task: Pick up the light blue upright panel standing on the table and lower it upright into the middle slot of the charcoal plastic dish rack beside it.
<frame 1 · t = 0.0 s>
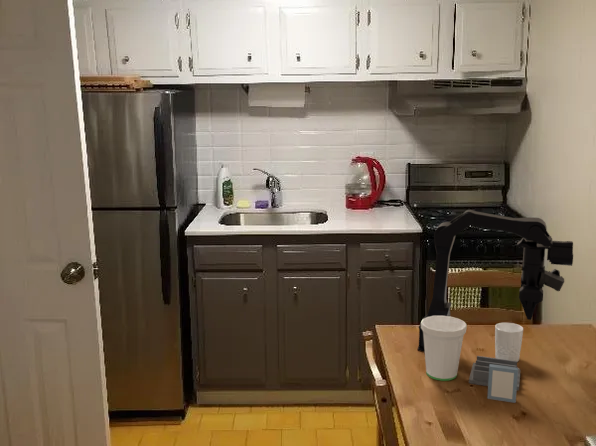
hand: (529, 314, 187), 15 cm above the table, tool pointing down, fingers open, 9 cm apart
rack: (494, 377, 180), on the table
light blue upright panel: (501, 399, 168), on the table
cup: (441, 374, 182), on the table
white cup: (507, 359, 192), on the table
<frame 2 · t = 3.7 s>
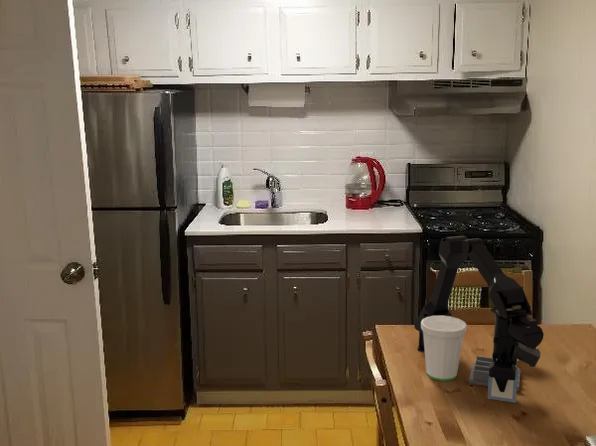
hand: (502, 390, 167), 3 cm above the table, tool pointing down, fingers closed on light blue upright panel, 2 cm apart
light blue upright panel: (501, 399, 168), on the table, touching gripper
everything else where it was.
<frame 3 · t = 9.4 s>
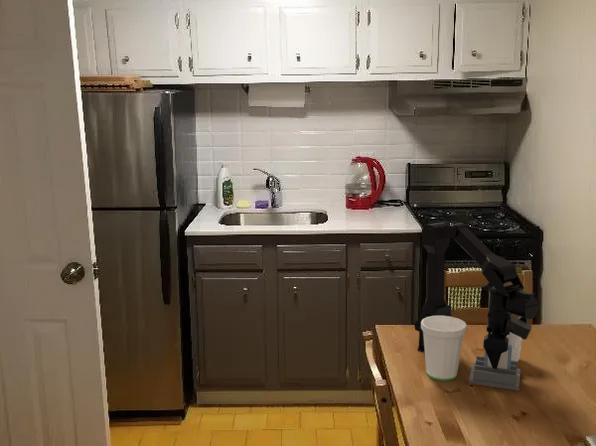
hand: (495, 361, 179), 5 cm above the table, tool pointing down, fingers open, 9 cm apart
light blue upright panel: (496, 374, 180), point 1 cm above the table, touching rack
everything else where it was.
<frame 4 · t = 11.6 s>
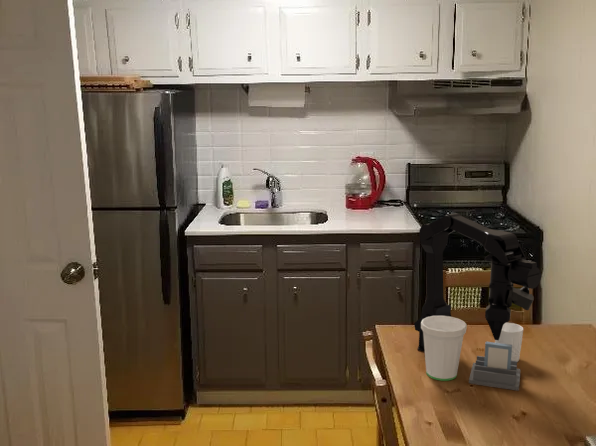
hand: (497, 333, 177), 13 cm above the table, tool pointing down, fingers open, 9 cm apart
nothing on the table moved.
at the end: light blue upright panel 0.4 cm off-centre on the rack, point 1.0 cm above the rack's base; light blue upright panel tilted 0°; the gripper is holding nothing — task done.
